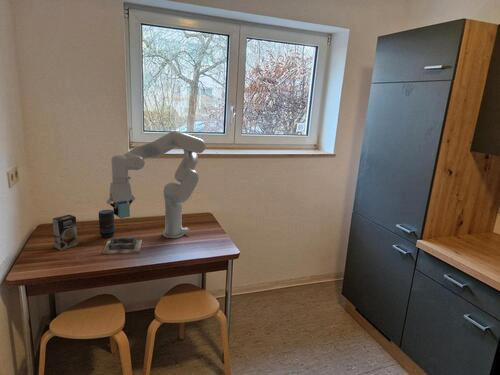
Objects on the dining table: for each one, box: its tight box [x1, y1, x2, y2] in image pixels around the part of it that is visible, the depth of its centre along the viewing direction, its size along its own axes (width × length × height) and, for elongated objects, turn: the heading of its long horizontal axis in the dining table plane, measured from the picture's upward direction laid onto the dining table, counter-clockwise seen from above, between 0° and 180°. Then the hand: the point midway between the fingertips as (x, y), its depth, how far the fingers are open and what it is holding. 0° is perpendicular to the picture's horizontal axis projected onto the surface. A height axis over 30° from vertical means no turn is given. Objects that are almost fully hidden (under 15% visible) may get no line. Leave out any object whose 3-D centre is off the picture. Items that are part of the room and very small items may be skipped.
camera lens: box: [98, 209, 116, 239], centre depth 188 cm, size 8×8×15 cm
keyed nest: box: [102, 237, 143, 255], centre depth 177 cm, size 18×14×4 cm
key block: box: [115, 201, 131, 219], centre depth 172 cm, size 5×8×7 cm, turn 44°
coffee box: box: [52, 214, 79, 251], centre depth 173 cm, size 9×6×16 cm
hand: (121, 213), depth 172 cm, fingers closed on key block, 5 cm apart
